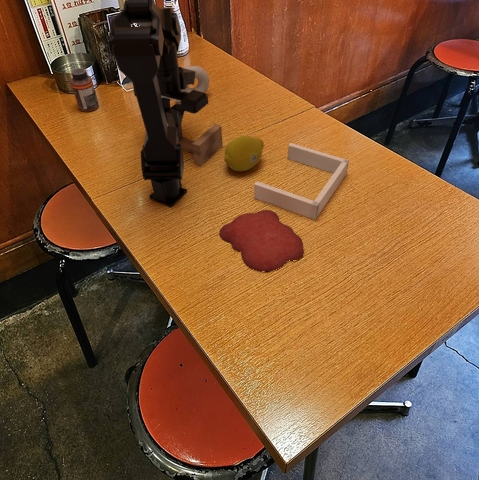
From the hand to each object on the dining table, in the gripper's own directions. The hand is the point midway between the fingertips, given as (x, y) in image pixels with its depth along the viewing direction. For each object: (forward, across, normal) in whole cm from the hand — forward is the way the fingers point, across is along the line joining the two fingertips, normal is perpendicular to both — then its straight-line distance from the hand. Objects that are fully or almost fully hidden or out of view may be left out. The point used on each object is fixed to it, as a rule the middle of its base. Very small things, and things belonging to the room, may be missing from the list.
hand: (174, 125), depth 116 cm
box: (+6, -36, 0) cm, 36 cm away
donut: (+6, +10, -22) cm, 25 cm away
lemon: (+6, -20, 0) cm, 21 cm away
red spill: (+6, -36, +20) cm, 42 cm away
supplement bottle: (+6, +34, -3) cm, 35 cm away
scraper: (+6, -5, 0) cm, 7 cm away
